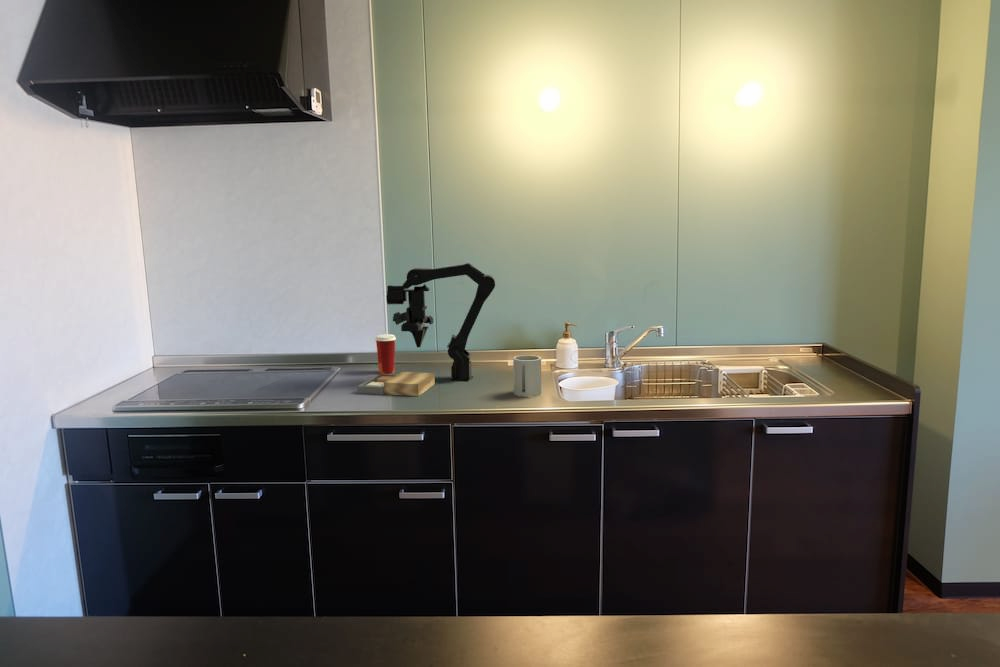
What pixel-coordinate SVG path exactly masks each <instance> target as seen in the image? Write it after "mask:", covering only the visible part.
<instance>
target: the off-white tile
mask: <svg viewBox="0 0 1000 667" xmlns="http://www.w3.org/2000/svg"><path fill="white" fill-rule="evenodd" d="M366 386H380V387H384V382H371V383H369V384H367V385H366Z"/></svg>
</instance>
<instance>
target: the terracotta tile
mask: <svg viewBox="0 0 1000 667" xmlns="http://www.w3.org/2000/svg"><path fill="white" fill-rule="evenodd" d="M390 378H392V377H390V376H381V377H379V378H378V379H377V382H385V381H387V380H389V379H390Z"/></svg>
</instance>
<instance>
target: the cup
mask: <svg viewBox="0 0 1000 667" xmlns="http://www.w3.org/2000/svg"><path fill="white" fill-rule="evenodd" d="M512 364H513V366H512V370H513V373H512V374H513V375H512V376H513V377H512V378H513V379H512V380H513V382H512V385H513V386H512V387H513V388H512V389H513V390H512V391H513V392H512V393H514V394H515V395H514V394H513V395H514V396H516V395H518V396H517V397H520V396H526V397H525V398H528V397H527V396H535V397H538V396H537V395H539V396H540V394H542V357H541V356H538V355H531V354H530V355H529V354H526V355H525V354H524V355H522V354H521V355H516V356H513V359H512ZM522 390H525V391H522Z"/></svg>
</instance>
